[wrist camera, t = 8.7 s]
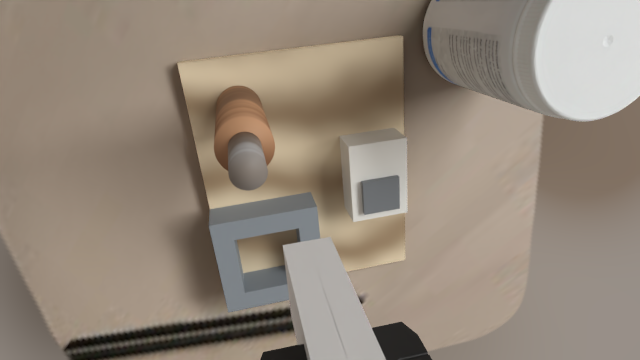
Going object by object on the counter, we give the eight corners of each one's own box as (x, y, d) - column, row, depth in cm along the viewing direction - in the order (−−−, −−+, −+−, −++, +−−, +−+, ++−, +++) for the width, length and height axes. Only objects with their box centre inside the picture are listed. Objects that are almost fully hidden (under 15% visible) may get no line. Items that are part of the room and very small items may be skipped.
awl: (212, 88, 33) (205, 145, 21) (258, 82, 34) (278, 134, 21) (220, 132, 35) (219, 209, 22) (264, 126, 35) (287, 197, 23)
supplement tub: (500, 88, 40) (638, 135, 27) (406, 76, 37) (507, 121, 24) (535, -26, 36) (714, -38, 23) (433, -47, 34) (568, -74, 21)
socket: (209, 209, 37) (208, 225, 35) (310, 191, 39) (317, 206, 36) (228, 291, 41) (228, 312, 38) (319, 273, 42) (326, 291, 40)
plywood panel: (178, 61, 33) (177, 63, 32) (398, 35, 36) (403, 36, 35) (228, 289, 42) (229, 295, 41) (401, 254, 45) (405, 259, 44)
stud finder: (339, 135, 37) (350, 148, 34) (393, 127, 38) (409, 139, 35) (344, 206, 40) (354, 224, 37) (395, 197, 41) (409, 214, 38)
